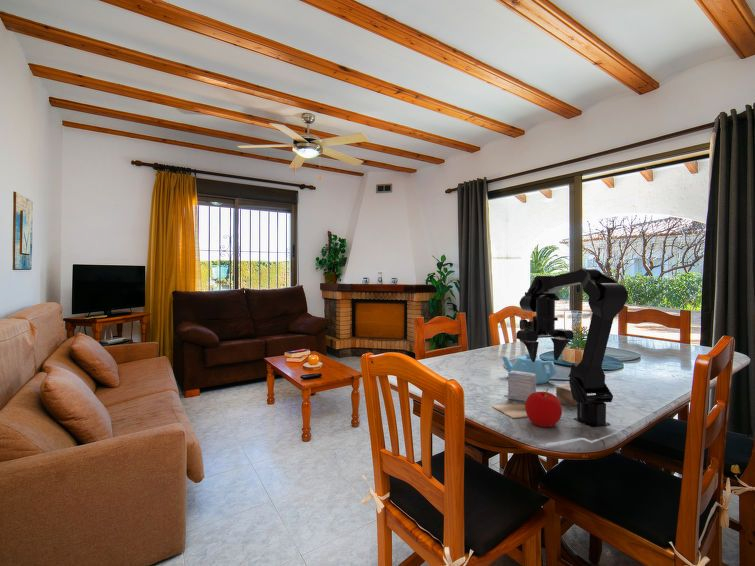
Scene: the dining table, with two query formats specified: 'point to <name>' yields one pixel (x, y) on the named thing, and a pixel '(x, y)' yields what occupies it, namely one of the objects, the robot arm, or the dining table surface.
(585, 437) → the dining table surface
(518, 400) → the tile
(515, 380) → the medicine box
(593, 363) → the robot arm
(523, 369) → the teapot
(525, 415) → the cork pad
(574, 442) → the dining table surface
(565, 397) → the walnut cube
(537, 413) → the fruit
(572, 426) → the dining table surface
